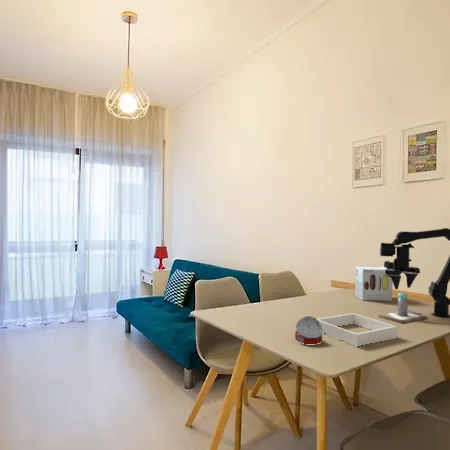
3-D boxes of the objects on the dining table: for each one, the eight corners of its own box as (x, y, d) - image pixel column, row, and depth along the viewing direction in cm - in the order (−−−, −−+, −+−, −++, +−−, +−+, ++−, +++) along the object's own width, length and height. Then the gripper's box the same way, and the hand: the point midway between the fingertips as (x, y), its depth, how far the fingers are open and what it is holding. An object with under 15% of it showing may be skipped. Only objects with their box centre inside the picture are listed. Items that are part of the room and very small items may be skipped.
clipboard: (403, 312, 174) (403, 308, 174) (427, 318, 164) (427, 314, 164) (378, 316, 166) (378, 312, 166) (401, 323, 155) (401, 318, 155)
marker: (401, 313, 168) (401, 292, 168) (409, 315, 164) (409, 294, 164) (396, 314, 166) (396, 293, 166) (403, 316, 162) (403, 294, 162)
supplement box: (362, 300, 200) (362, 269, 200) (354, 295, 213) (354, 266, 213) (393, 301, 199) (393, 269, 199) (383, 296, 212) (383, 266, 212)
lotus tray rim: (353, 323, 156) (353, 313, 156) (397, 337, 136) (397, 326, 136) (314, 330, 146) (314, 319, 145) (356, 347, 126) (356, 334, 126)
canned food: (320, 351, 134) (333, 331, 131) (307, 356, 127) (320, 334, 124) (298, 332, 141) (310, 312, 139) (284, 335, 134) (296, 314, 131)
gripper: (400, 254, 185) (400, 284, 185) (376, 256, 176) (375, 287, 177) (420, 256, 175) (420, 287, 175) (395, 258, 167) (395, 291, 167)
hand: (402, 288), depth 174 cm, fingers open, 9 cm apart
